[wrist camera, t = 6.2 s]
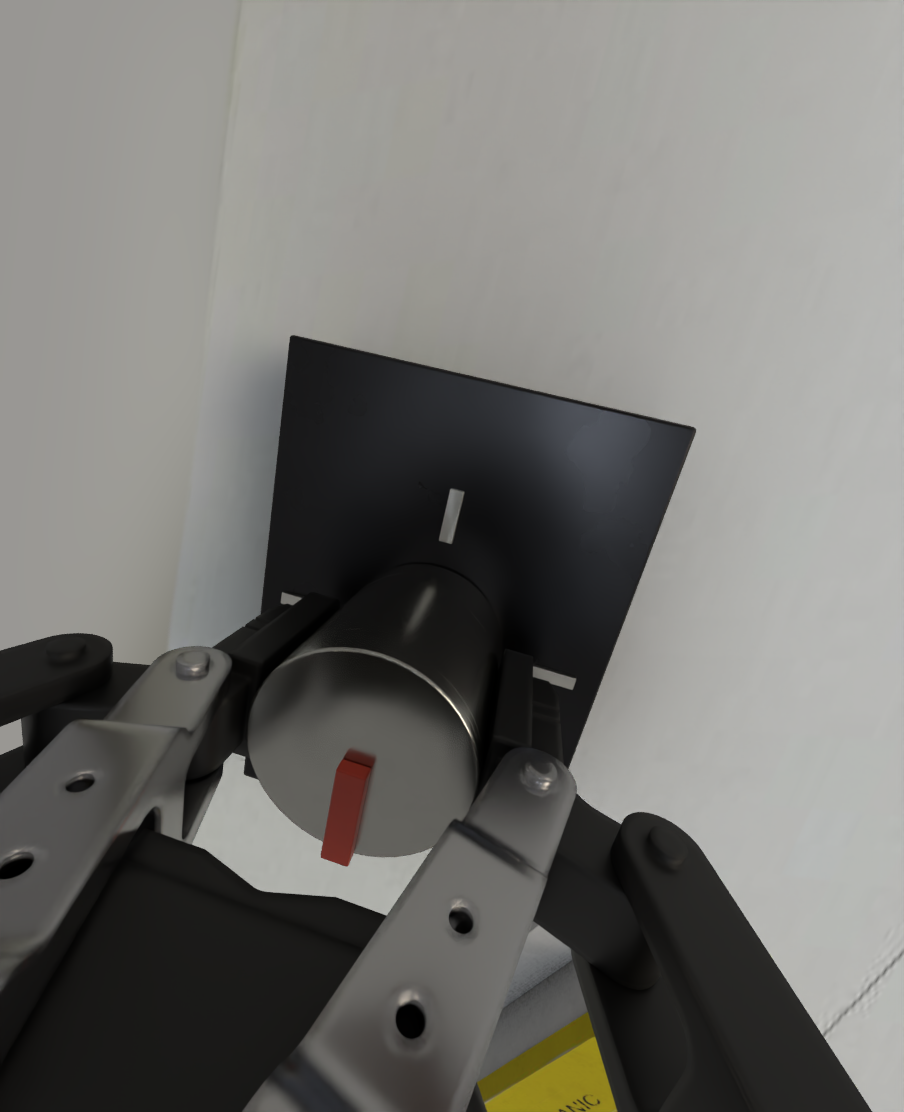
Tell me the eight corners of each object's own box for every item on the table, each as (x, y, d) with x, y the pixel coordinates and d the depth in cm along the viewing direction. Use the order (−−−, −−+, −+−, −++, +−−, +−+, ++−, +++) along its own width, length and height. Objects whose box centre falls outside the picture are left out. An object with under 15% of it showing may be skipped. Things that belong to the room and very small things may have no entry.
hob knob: (362, 544, 13) (245, 624, 7) (520, 588, 12) (507, 704, 7) (339, 681, 14) (225, 827, 9) (480, 725, 13) (445, 904, 8)
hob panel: (338, 352, 14) (285, 332, 11) (664, 427, 13) (701, 427, 10) (287, 721, 18) (239, 778, 15) (530, 801, 17) (529, 878, 14)
